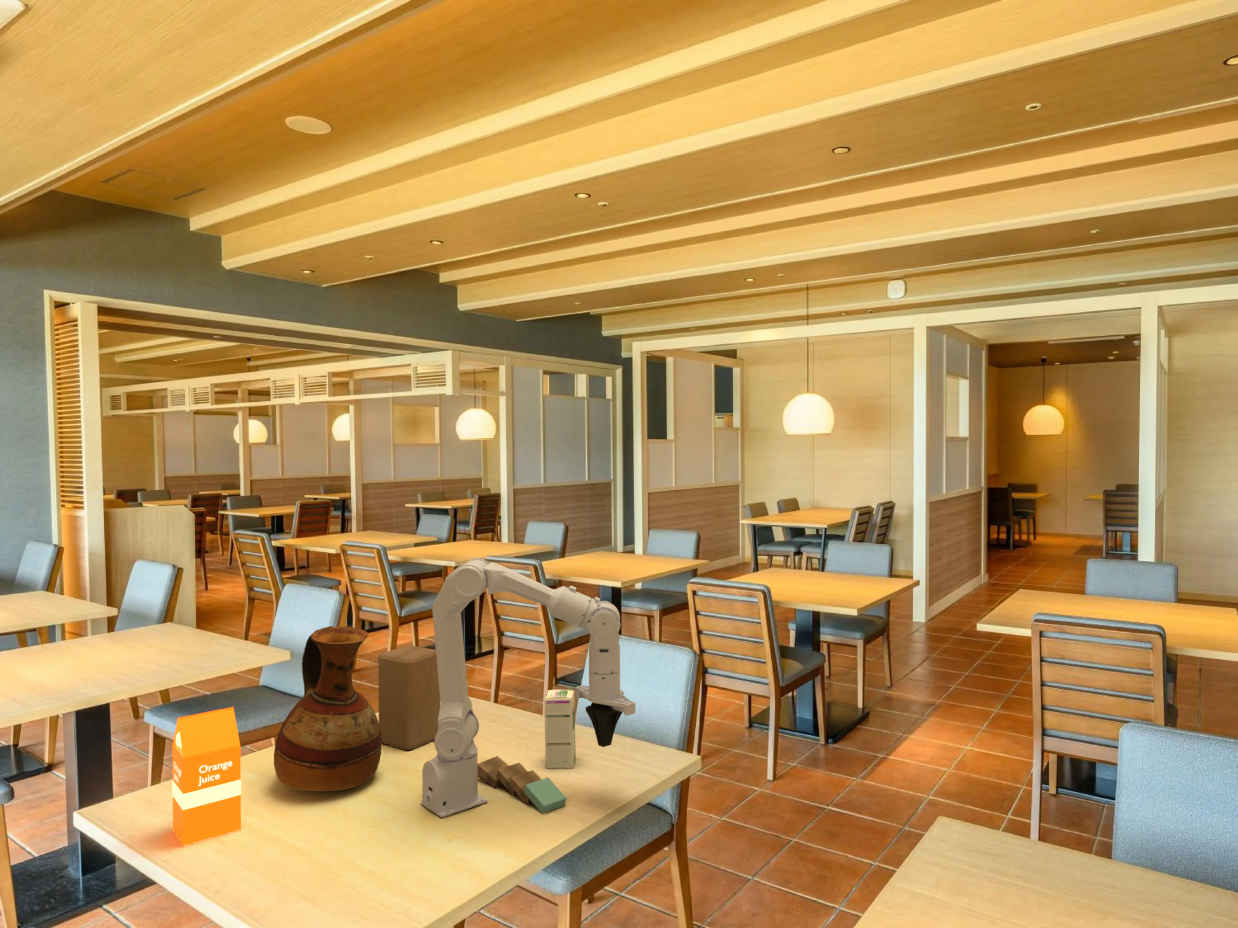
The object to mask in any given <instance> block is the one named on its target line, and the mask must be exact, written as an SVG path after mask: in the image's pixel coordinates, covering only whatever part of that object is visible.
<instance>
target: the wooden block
mask: <svg viewBox="0 0 1238 928" xmlns="http://www.w3.org/2000/svg"><path fill="white" fill-rule="evenodd" d="M377 659H378V660H377V661H378V664H377V665H378V667H377V670H378V671H377V672H378V675H377V676H378V686H377V687H378V722H379V726H380V730H381V738H382V744H385V745H388V746H392V747H396V748H399V749H402V750H407V751H411V750H413V749H415V748H418V747H420V746H422V745H425V744H427V743H429V742H432V741H435V736H436V734H437V731H438V716H439V711H440V705H441V701H440V690H439V679H438V668H437V656H436V649H435V648H433V649H432V648H427V647H423V646H416V645H406V646H404V647H400V648H396V649H392V650H388V651H385V652H381V653H380V654H379V655H378V658H377Z"/></svg>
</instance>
